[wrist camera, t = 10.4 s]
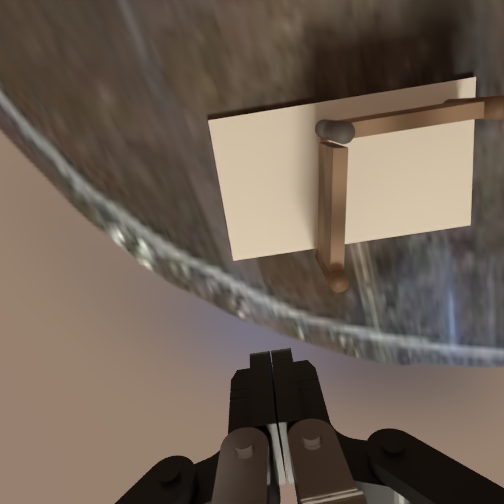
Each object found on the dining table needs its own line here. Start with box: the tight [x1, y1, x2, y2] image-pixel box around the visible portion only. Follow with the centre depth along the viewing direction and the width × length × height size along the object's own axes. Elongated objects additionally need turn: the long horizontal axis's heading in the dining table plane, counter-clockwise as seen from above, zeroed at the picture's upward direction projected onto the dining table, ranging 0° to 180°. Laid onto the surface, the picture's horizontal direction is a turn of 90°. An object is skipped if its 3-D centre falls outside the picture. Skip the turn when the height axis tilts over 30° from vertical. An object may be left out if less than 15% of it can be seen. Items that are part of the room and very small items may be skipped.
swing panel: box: [315, 142, 349, 292], centre depth 30 cm, size 10×1×6 cm, turn 3°
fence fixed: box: [315, 96, 504, 144], centre depth 28 cm, size 11×1×7 cm, turn 99°
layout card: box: [208, 77, 476, 261], centre depth 33 cm, size 21×12×1 cm, turn 99°
